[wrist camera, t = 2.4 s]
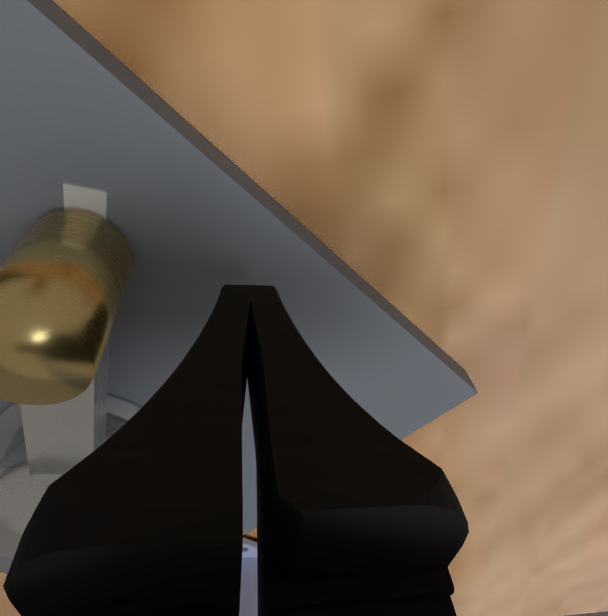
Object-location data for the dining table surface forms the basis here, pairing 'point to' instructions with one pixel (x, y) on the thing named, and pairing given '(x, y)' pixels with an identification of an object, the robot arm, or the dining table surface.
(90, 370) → the lever
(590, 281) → the dining table surface
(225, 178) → the stand base
